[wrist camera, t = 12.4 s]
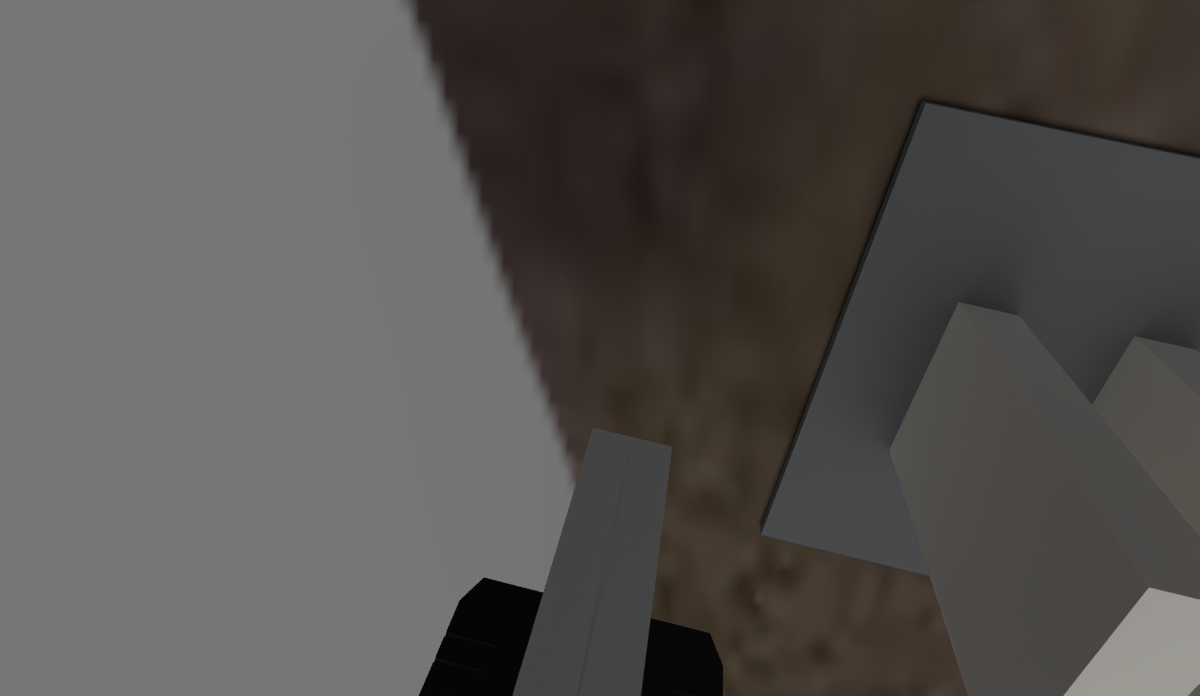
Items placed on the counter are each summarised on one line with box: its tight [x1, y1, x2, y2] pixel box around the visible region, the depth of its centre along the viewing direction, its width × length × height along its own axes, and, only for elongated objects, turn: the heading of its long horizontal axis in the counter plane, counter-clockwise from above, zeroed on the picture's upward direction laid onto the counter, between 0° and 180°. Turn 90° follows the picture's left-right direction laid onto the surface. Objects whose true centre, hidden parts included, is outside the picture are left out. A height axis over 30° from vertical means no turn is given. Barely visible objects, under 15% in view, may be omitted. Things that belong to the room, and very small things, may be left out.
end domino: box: [889, 302, 1200, 696], centre depth 16 cm, size 5×2×10 cm, turn 170°
